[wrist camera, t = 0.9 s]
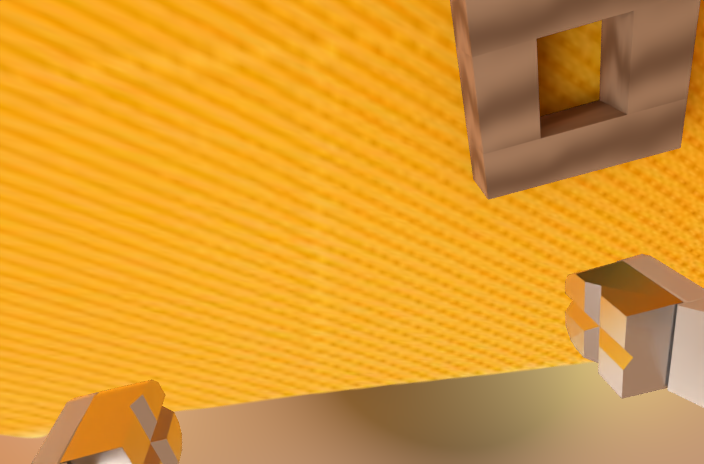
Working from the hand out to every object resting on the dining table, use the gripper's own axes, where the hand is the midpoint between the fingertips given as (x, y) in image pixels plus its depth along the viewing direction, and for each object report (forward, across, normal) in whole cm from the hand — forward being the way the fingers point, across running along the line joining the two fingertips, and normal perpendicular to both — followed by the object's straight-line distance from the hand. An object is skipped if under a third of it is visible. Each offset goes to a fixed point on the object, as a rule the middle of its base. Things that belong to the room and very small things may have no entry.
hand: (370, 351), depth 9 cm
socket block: (+39, -26, +3) cm, 47 cm away
